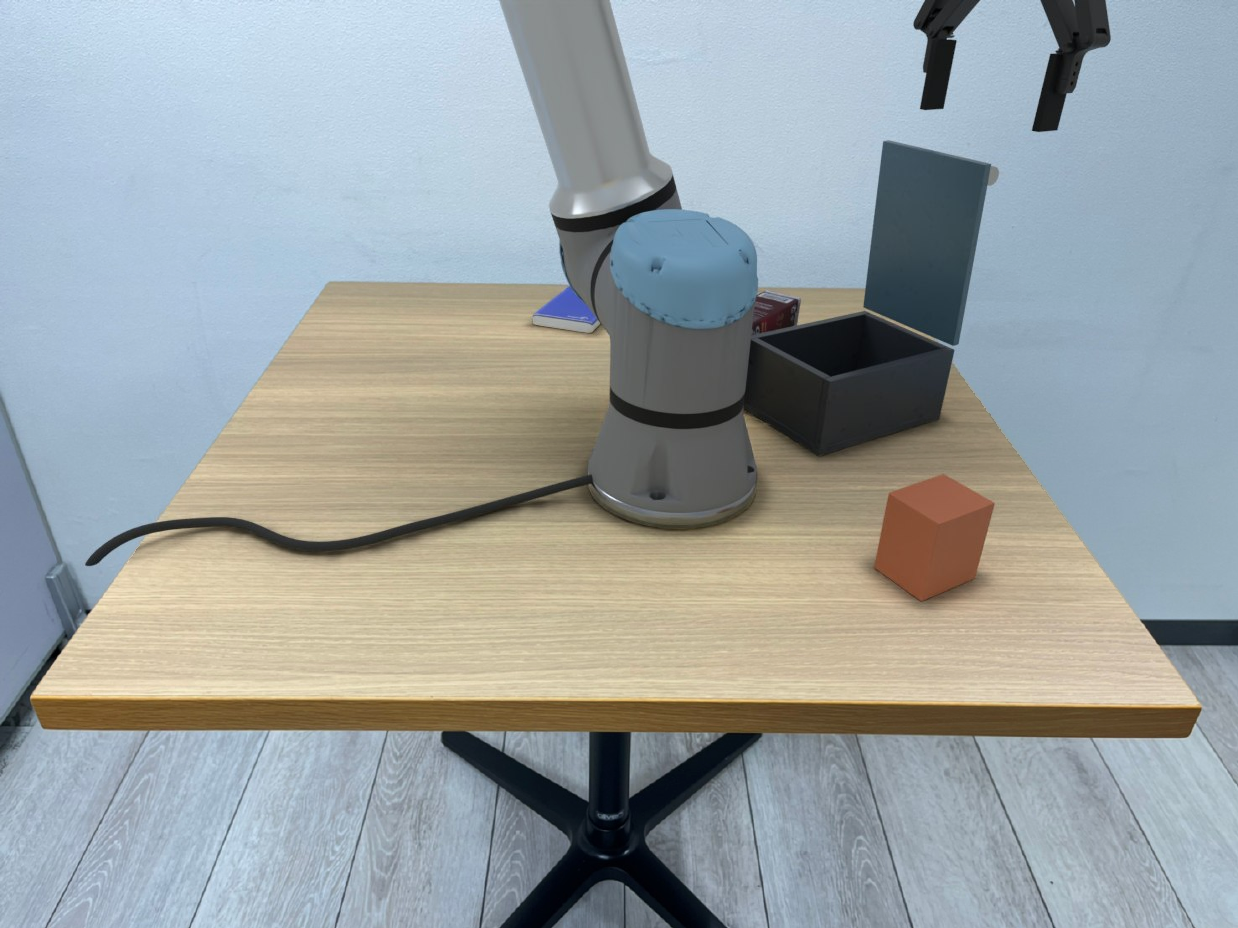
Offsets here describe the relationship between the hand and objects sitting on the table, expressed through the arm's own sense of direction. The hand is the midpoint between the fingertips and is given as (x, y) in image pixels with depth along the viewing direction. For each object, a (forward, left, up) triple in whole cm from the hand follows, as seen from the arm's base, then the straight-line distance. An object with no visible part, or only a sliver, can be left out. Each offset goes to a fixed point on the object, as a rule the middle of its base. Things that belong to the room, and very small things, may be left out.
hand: (984, 119), depth 89 cm
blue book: (-24, +39, -29) cm, 54 cm away
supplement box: (-11, +14, -24) cm, 30 cm away
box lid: (-6, 0, -11) cm, 13 cm away
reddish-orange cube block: (-28, -25, -29) cm, 47 cm away
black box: (-14, 0, -29) cm, 32 cm away
